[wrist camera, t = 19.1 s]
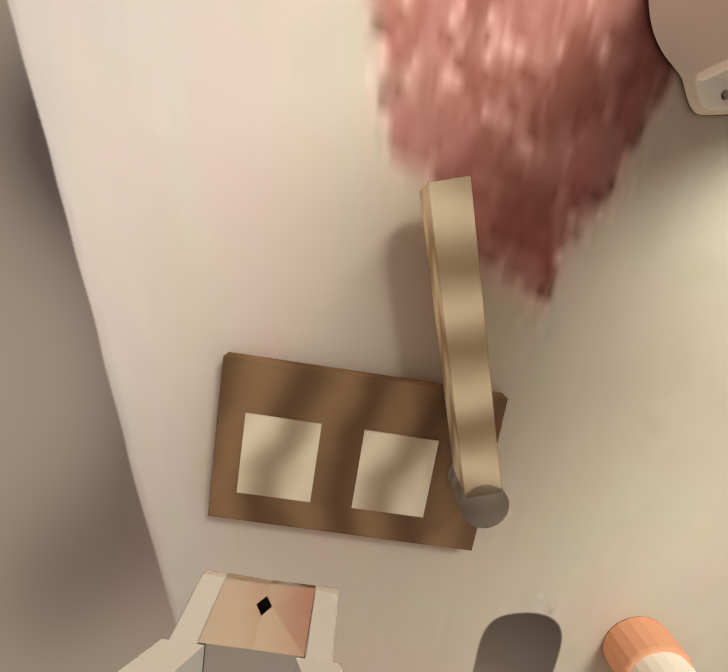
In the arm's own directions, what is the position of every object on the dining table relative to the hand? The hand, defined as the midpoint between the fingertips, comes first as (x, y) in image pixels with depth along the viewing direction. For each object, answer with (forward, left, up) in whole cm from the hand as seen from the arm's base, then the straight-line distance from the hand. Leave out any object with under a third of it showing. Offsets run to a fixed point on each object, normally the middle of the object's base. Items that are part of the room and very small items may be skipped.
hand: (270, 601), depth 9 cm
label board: (-3, +11, -29) cm, 31 cm away
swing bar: (-11, -1, -26) cm, 28 cm away
